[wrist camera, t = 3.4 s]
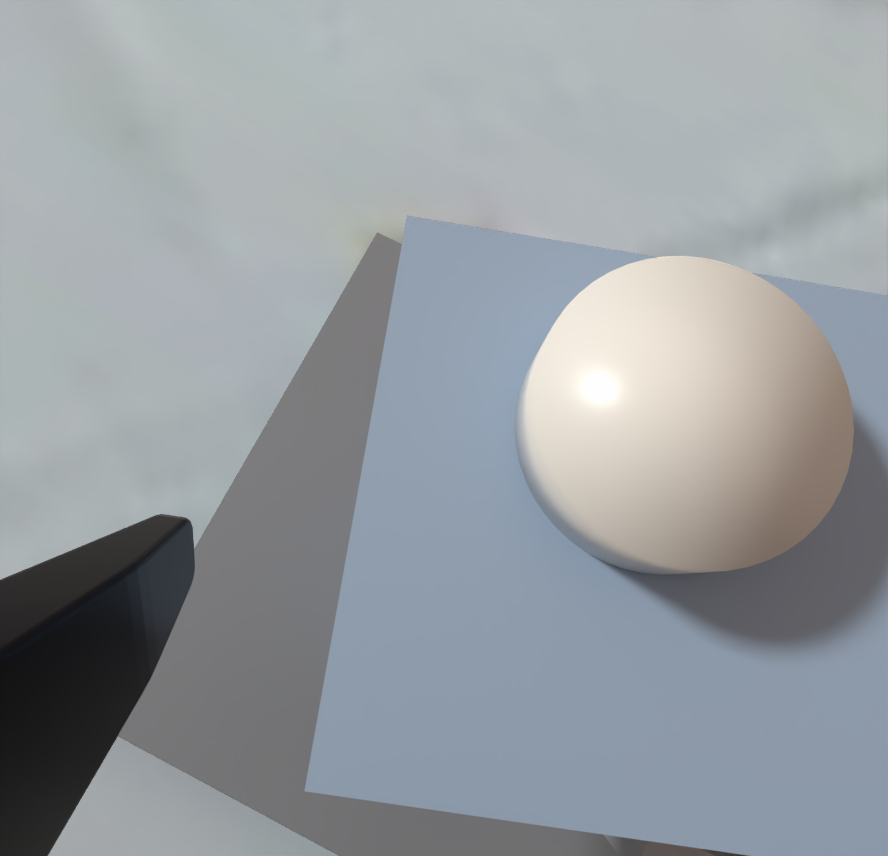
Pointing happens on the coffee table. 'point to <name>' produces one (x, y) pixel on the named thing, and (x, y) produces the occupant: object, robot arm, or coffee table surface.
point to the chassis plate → (305, 618)
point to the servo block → (619, 551)
